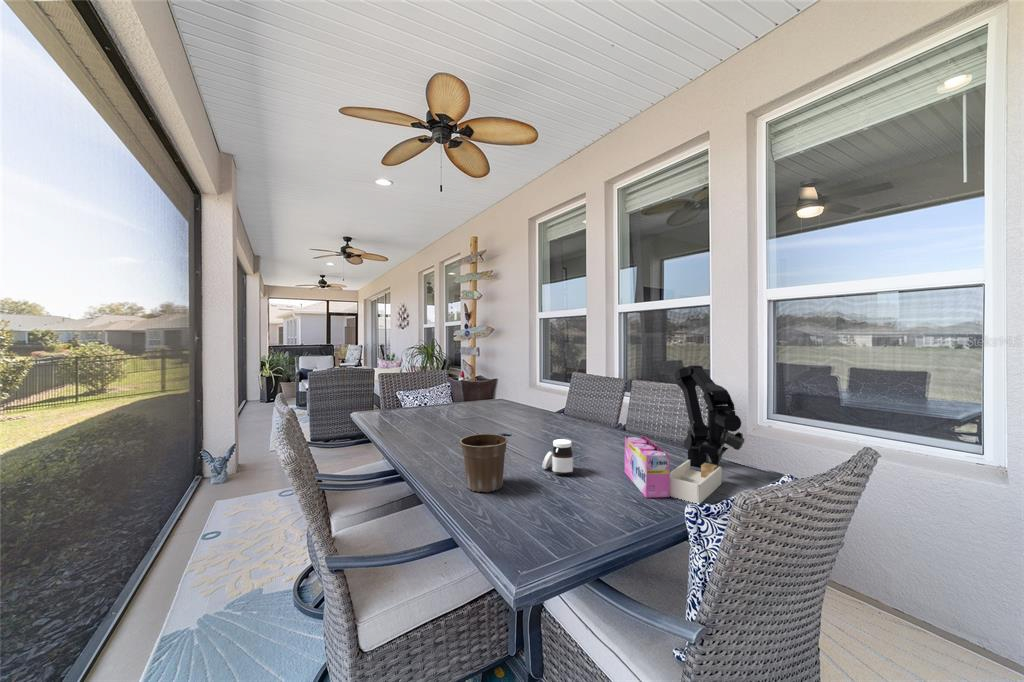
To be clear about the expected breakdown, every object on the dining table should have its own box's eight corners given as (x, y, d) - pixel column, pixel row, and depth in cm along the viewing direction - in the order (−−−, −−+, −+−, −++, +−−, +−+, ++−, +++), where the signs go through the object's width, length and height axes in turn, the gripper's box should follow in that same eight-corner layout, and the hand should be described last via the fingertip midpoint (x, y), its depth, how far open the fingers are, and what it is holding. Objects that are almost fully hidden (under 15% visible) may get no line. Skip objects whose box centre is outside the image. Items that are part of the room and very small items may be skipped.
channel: (663, 494, 131) (663, 476, 131) (688, 476, 147) (688, 459, 147) (699, 504, 123) (699, 485, 123) (721, 483, 139) (721, 466, 139)
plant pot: (450, 486, 138) (450, 440, 138) (485, 474, 150) (484, 430, 150) (483, 500, 127) (482, 449, 127) (517, 485, 139) (517, 438, 139)
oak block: (700, 477, 139) (701, 465, 139) (704, 473, 142) (704, 462, 142) (713, 479, 136) (713, 468, 136) (717, 476, 139) (717, 465, 139)
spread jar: (574, 477, 146) (574, 445, 146) (543, 477, 146) (542, 445, 146) (570, 466, 158) (570, 436, 158) (541, 466, 158) (541, 436, 158)
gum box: (622, 471, 152) (622, 435, 151) (643, 470, 152) (643, 434, 151) (645, 498, 128) (646, 455, 127) (670, 497, 128) (670, 454, 127)
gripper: (734, 433, 132) (733, 480, 132) (749, 423, 145) (748, 466, 146) (698, 427, 139) (698, 472, 140) (715, 418, 153) (715, 459, 154)
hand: (716, 467), depth 145 cm, fingers closed
